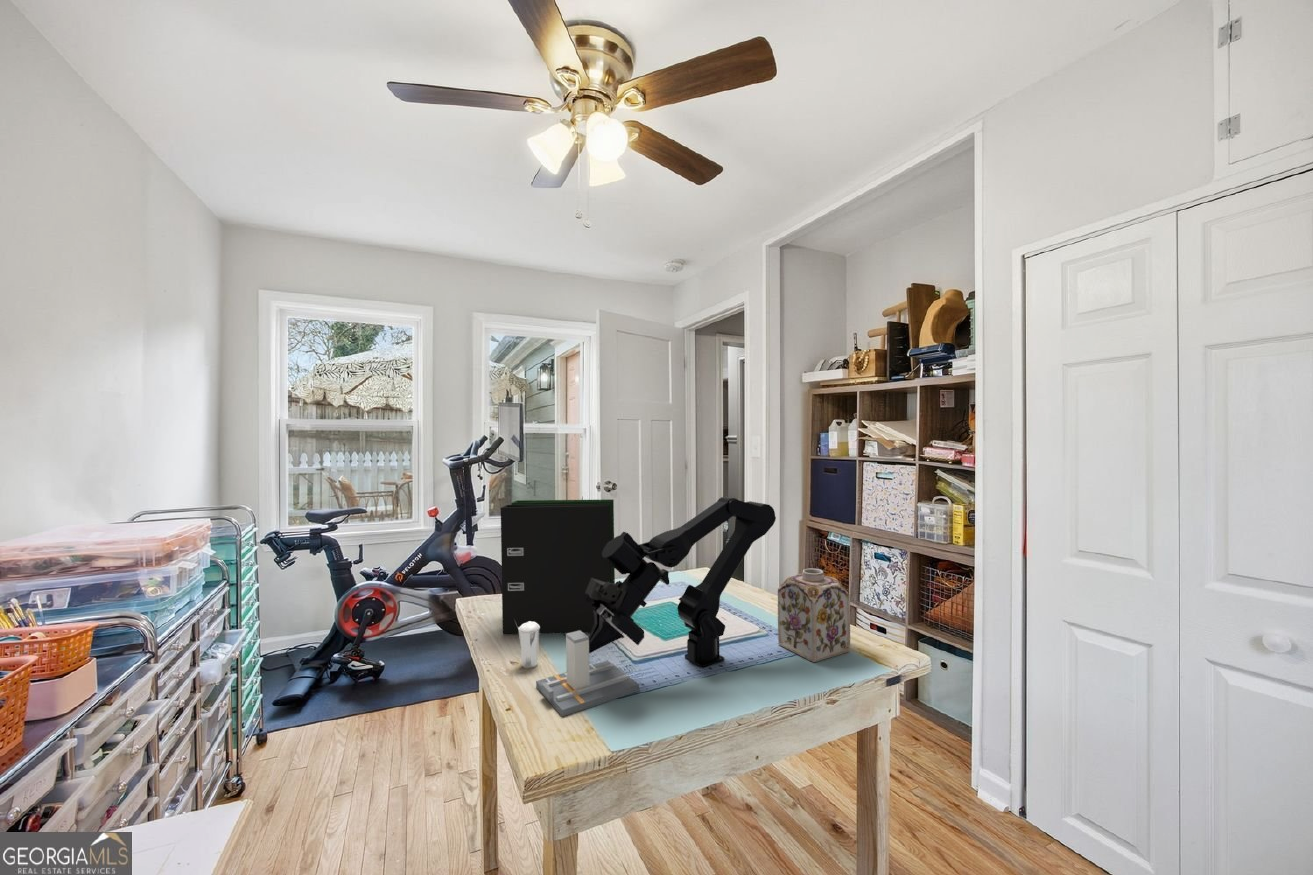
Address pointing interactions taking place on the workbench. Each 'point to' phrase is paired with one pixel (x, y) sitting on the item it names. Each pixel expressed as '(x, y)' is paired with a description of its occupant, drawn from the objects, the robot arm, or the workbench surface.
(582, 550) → the binder
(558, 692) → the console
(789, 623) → the decorative jar
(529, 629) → the milkshake
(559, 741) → the workbench surface
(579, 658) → the fader tab
